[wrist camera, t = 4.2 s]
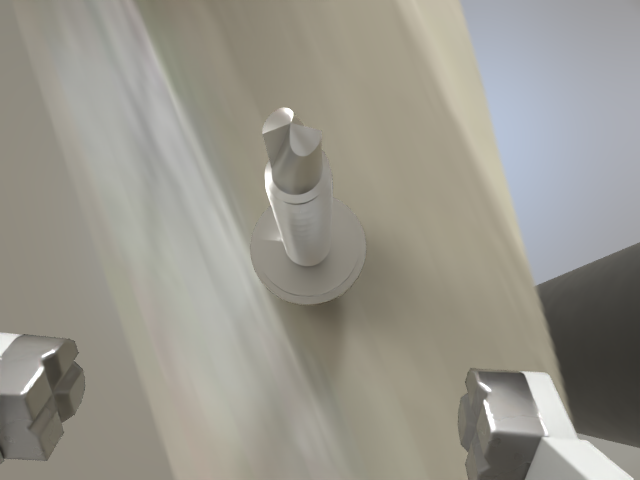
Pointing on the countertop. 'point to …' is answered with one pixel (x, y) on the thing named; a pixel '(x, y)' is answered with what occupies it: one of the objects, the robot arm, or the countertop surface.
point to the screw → (303, 219)
